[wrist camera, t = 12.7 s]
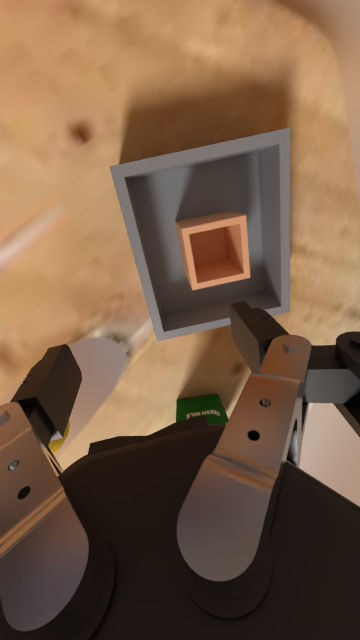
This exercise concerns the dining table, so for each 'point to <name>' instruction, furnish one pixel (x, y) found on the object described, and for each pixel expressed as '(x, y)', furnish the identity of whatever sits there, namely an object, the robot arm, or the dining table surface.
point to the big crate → (201, 199)
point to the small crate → (214, 248)
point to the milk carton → (202, 409)
